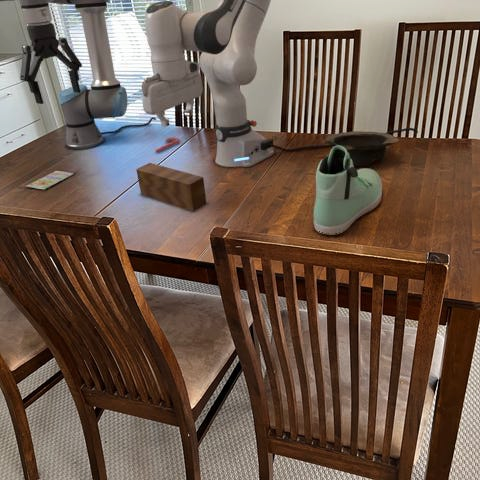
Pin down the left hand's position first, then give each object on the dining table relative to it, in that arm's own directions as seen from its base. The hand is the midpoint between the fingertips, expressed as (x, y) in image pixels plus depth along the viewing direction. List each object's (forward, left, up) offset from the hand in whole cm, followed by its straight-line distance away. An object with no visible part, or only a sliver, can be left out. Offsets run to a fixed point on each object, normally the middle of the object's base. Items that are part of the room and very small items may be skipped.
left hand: (59, 97), depth 150 cm
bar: (-18, +31, -31) cm, 47 cm away
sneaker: (-51, +74, -31) cm, 95 cm away
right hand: (-19, +38, -4) cm, 43 cm away
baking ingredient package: (+6, -14, -31) cm, 34 cm away
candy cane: (-41, -12, -31) cm, 52 cm away
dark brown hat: (-83, +52, -31) cm, 102 cm away
